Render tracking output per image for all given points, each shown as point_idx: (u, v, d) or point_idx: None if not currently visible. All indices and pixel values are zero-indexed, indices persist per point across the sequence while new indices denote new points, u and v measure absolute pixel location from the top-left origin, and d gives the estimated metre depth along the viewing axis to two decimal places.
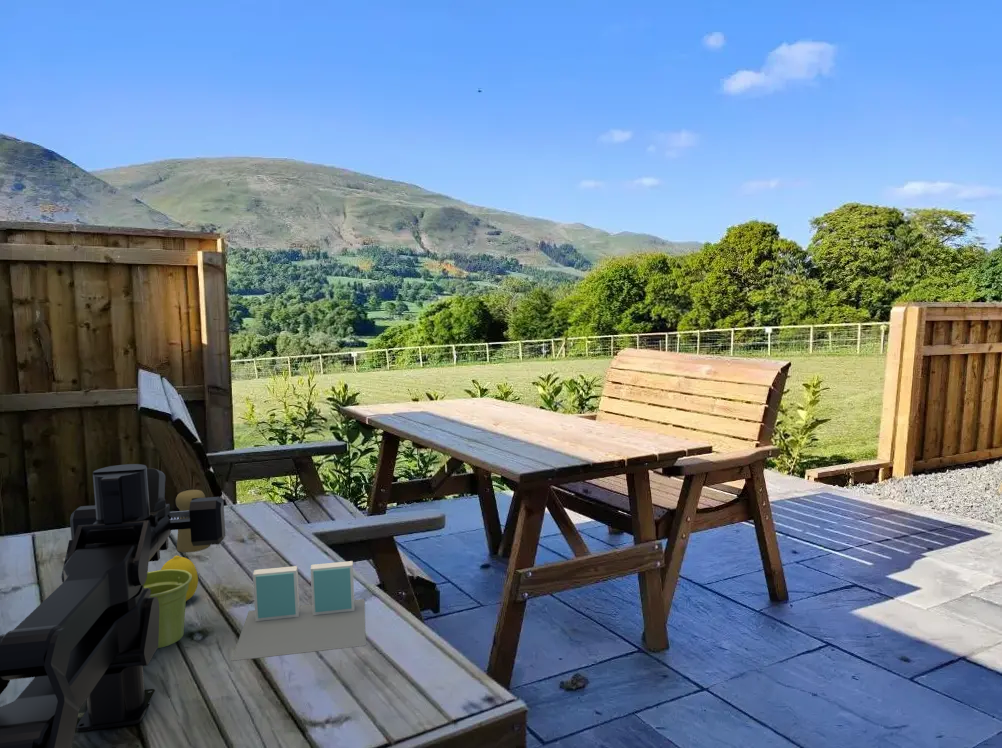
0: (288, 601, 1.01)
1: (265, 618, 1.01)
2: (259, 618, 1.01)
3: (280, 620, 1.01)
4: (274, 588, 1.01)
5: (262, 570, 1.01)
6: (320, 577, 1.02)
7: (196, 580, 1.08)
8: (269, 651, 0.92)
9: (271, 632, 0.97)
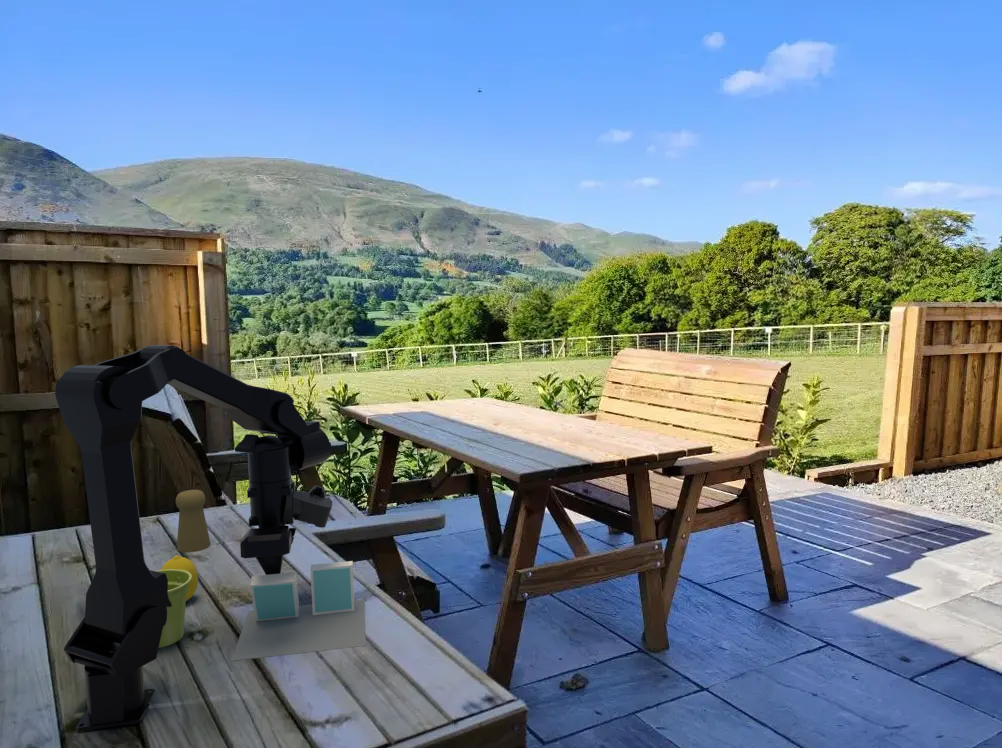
0: (287, 606, 1.00)
1: (265, 619, 1.01)
2: (259, 619, 1.00)
3: (280, 620, 1.01)
4: (273, 596, 0.99)
5: (259, 578, 0.99)
6: (320, 577, 1.02)
7: (196, 580, 1.08)
8: (269, 651, 0.92)
9: (271, 632, 0.97)
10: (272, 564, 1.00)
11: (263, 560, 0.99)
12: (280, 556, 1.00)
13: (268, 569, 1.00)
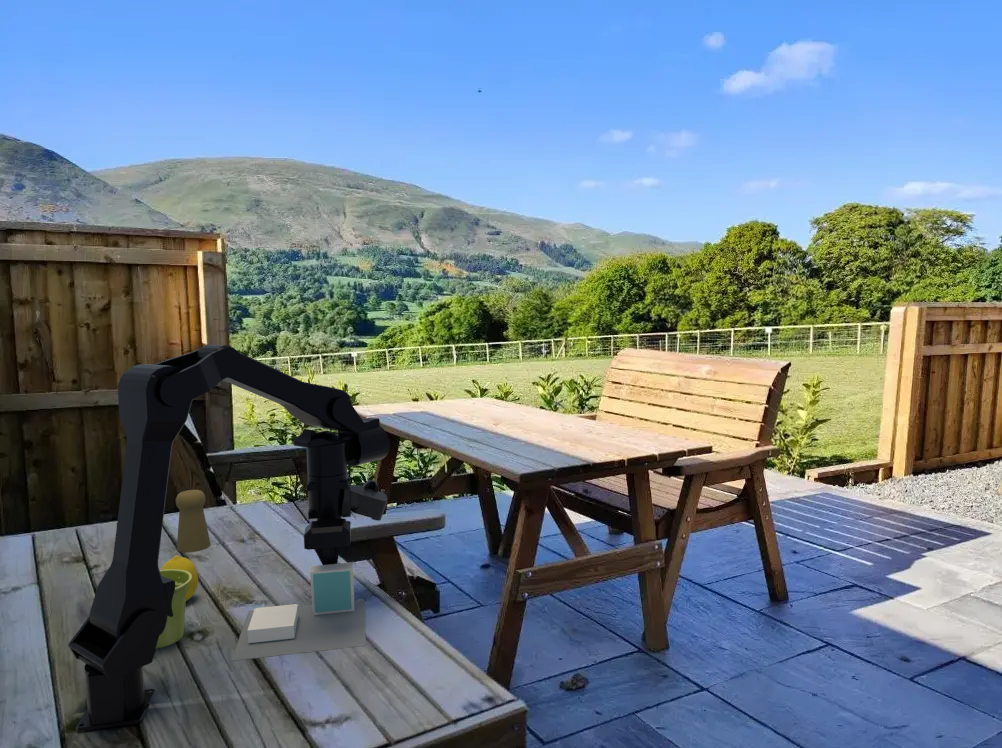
0: None
1: None
2: None
3: None
4: None
5: (256, 633, 0.94)
6: (320, 580, 1.01)
7: (196, 580, 1.08)
8: (269, 651, 0.92)
9: None
10: (329, 556, 1.03)
11: (321, 552, 1.02)
12: (337, 548, 1.02)
13: (326, 561, 1.03)
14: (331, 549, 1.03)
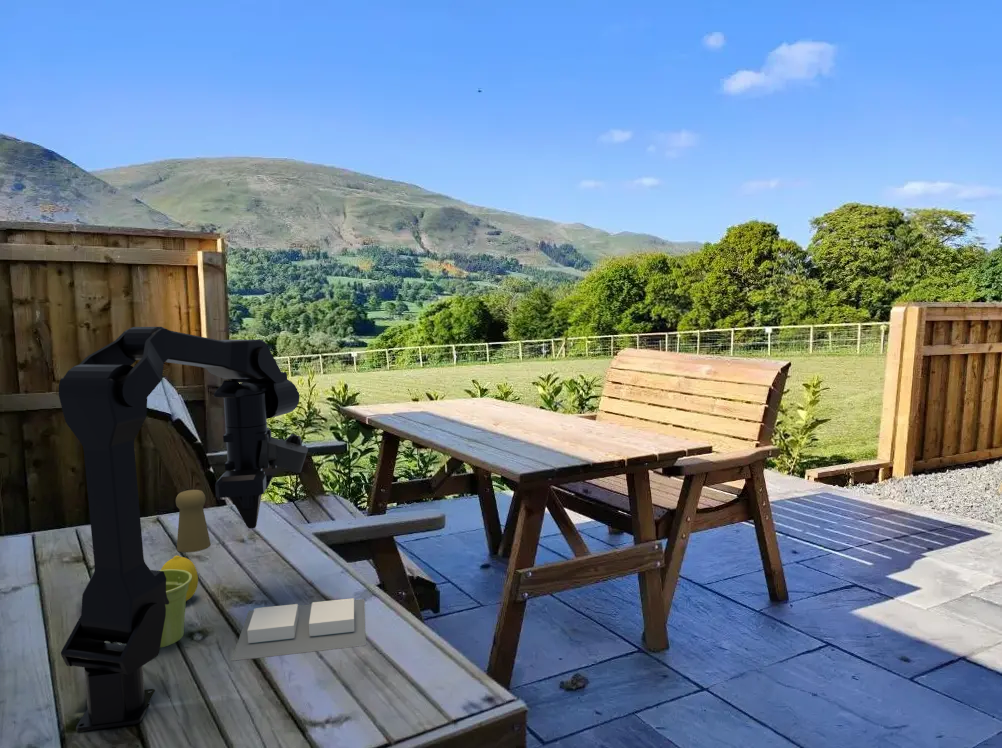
0: None
1: None
2: None
3: None
4: None
5: (256, 633, 0.94)
6: None
7: (196, 580, 1.08)
8: (269, 651, 0.92)
9: None
10: (249, 508, 1.02)
11: (240, 504, 1.02)
12: (256, 500, 1.02)
13: (245, 513, 1.03)
14: (250, 501, 1.02)
